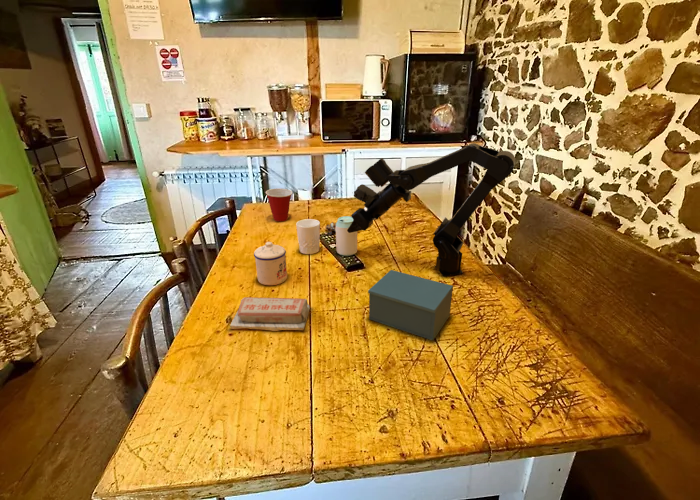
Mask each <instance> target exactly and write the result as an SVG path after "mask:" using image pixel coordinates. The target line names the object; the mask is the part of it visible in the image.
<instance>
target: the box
mask: <svg viewBox="0 0 700 500" xmlns="http://www.w3.org/2000/svg"><path fill="white" fill-rule="evenodd" d="M453 290H454V288H453V289H452V290H451V291H450V293H449V294H448V296H447V297H446V298H445V300H444V301H443V302H442V304H441V305H440V306H439V308H438V309H437V310H436V312H435V313H433V312H429V311H426V310H423V309H419V308H416V307H413V306H409V305H406V304H403V303H399V302H396V301H393V300H389V299H386V298H383V297H379V296H376V295H373V294H369V293H368V296H369V297H368V298H369V299H368V300H369V301H368V306H369V307H368V308H369V309H368V320H370V321H373V322H376V323H379V324H382V325H385V326H388V327H391V328H394V329H397V330H400V331H403V332H406V333H408V334H412V335H415V336H417V337H421V338H425V339H426V340H430V341H434V340H435V338H436V337H437V336H438V335H439V332H440V331H441V330H442V328H443V327H444V326H445V323H446V322H447V321H448V319H449V318H450V315H451V309H452V308H451V307H452V299H453Z"/></svg>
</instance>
